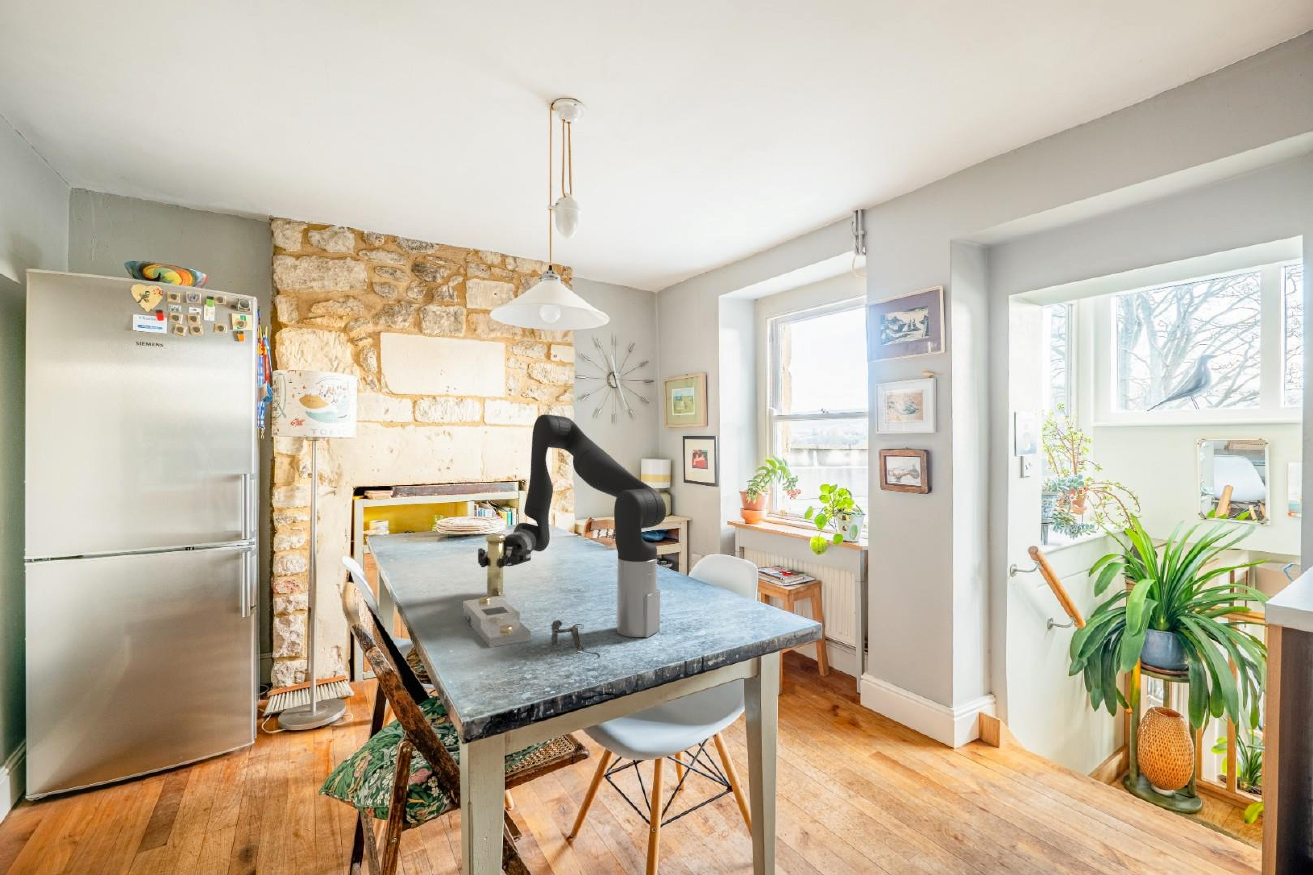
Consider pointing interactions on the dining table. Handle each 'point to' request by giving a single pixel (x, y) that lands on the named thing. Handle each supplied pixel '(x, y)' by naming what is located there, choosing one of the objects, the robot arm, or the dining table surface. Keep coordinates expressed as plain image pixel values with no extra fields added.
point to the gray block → (495, 621)
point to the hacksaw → (574, 629)
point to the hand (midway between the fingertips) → (491, 563)
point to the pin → (494, 564)
